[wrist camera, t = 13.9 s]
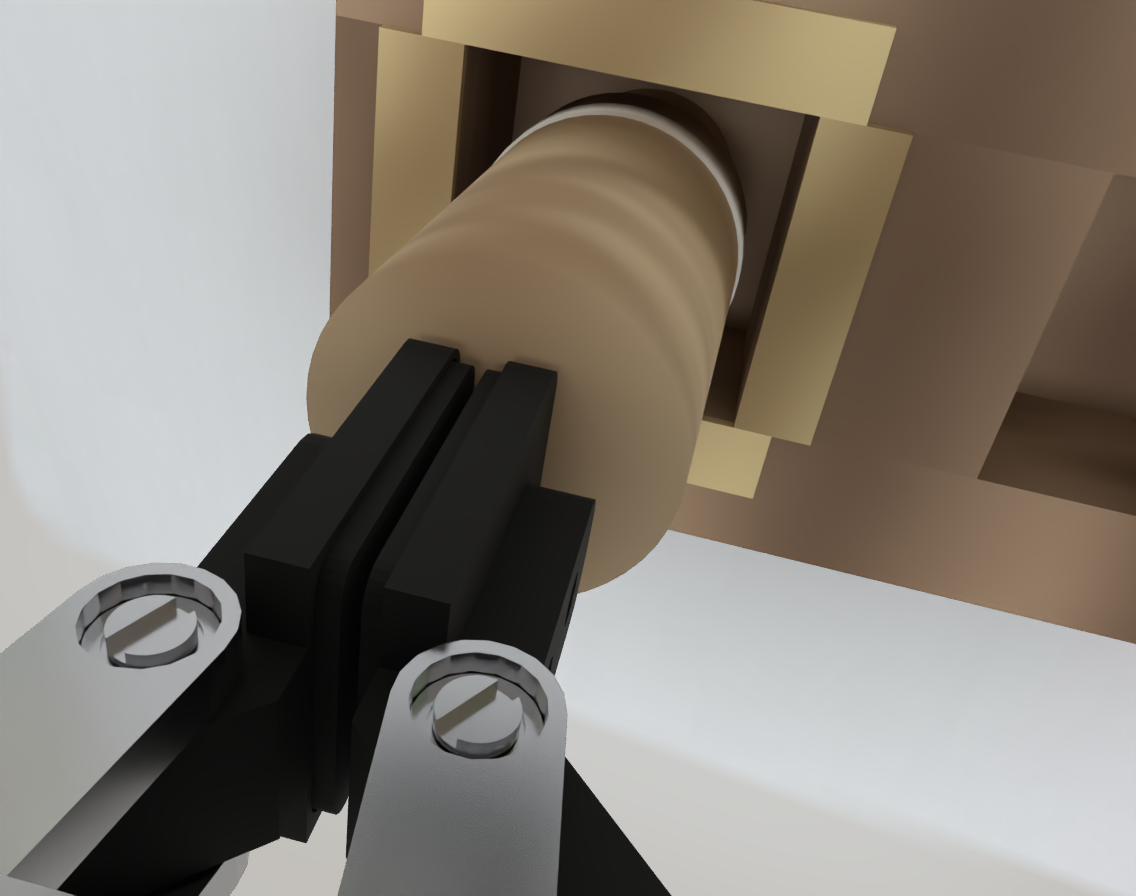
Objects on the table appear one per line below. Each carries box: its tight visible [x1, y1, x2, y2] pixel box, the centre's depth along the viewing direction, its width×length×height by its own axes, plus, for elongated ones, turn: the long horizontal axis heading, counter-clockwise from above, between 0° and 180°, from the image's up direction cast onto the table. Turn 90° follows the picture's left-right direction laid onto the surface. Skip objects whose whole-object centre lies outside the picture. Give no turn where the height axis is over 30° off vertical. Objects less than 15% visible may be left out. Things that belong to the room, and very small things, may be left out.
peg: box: [307, 88, 747, 593], centre depth 16 cm, size 4×4×11 cm
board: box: [330, 0, 1136, 644], centre depth 19 cm, size 20×11×5 cm, turn 81°
